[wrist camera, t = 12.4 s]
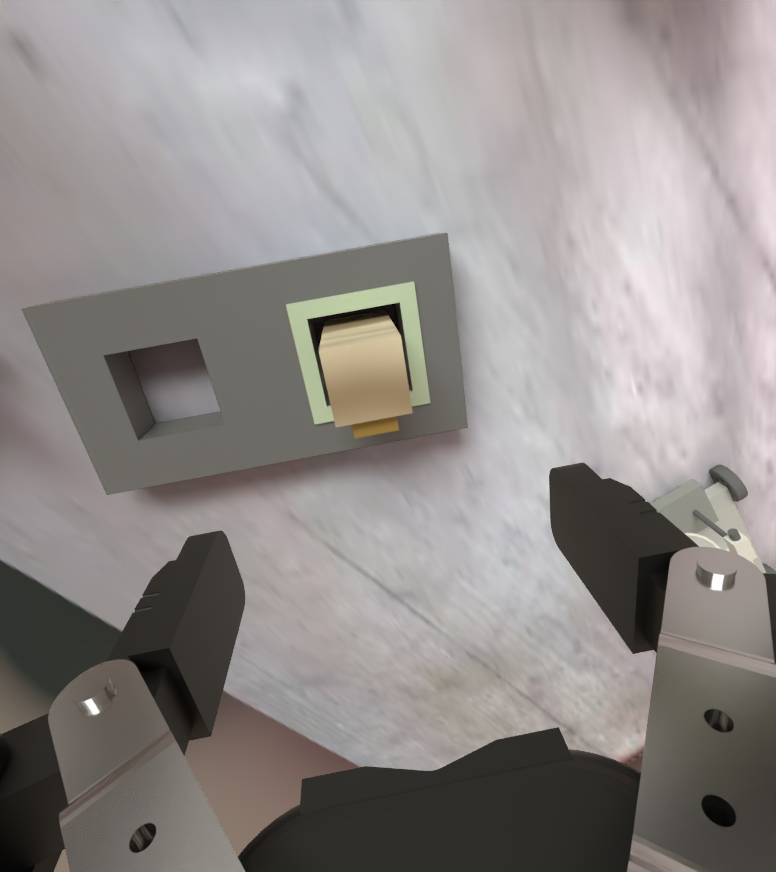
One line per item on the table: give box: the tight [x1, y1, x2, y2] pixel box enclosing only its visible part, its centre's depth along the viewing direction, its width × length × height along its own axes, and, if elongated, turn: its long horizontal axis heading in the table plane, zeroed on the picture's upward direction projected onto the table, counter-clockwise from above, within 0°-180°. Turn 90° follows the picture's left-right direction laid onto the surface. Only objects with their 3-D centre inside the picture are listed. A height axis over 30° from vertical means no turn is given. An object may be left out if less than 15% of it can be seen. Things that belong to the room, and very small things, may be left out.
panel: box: [22, 233, 468, 495], centre depth 30 cm, size 12×24×3 cm, turn 99°
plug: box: [319, 310, 413, 438], centre depth 28 cm, size 5×4×9 cm
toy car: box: [651, 465, 776, 574], centre depth 37 cm, size 18×10×12 cm
